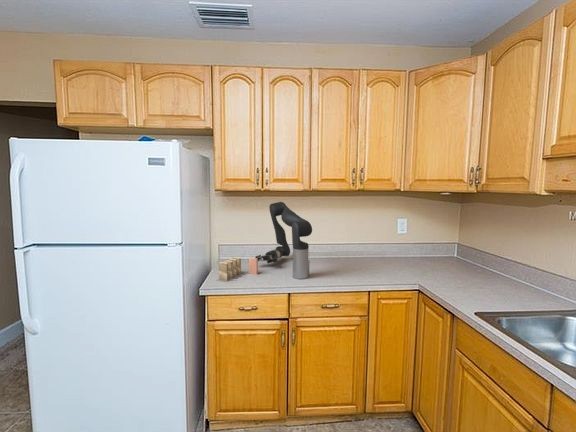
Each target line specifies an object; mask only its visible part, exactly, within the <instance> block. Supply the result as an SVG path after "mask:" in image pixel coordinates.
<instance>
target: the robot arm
mask: <svg viewBox="0 0 576 432" xmlns="http://www.w3.org/2000/svg"><path fill="white" fill-rule="evenodd" d="M269 213H270V217H271V221H272V225H273V229H274V232H275V234H274V235H275V239H276V240H275V241H276V243H277V244H278V246H276V247H275V248H274V249H271V250H269V251H267V252H266V253H265V254H264V255H261V254H259V255H256V256H255V257H254V258H257V259H258V262H266V263H267V264H270V263H271V264H272V263H276V262H278V261H279V259H282V257H289V256H290V254H291V248H290V245H289V244H288V241H287V235H286V234H287V233H286V230H285V229H284V227H283V226H282V225H281V224H280V223H279V221H278V220H277V217H279V216H280V219H281V221H282V222H283V223H284V224H285V225H287V226H288V227H291V240H292V242H291V243H292V278H293V279H297V280H304V279H308V278H309V277H310V263H311V262H310V260H309V246H310V245H309V243H308V242H306V241H302V240H301V238H302V237H304V238H306V237H308V236H311V234H312V233H313V228H312V224H311V223H310V222H309V221H308V220H307V219H304V218H303V217H301V216H300V215H298V213H296V212H294V211H293V210H292V209H291V208H289V207H288V206H287V204H286V203H285V202H283V201H277V202H272V203H270V204H269Z"/></svg>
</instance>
